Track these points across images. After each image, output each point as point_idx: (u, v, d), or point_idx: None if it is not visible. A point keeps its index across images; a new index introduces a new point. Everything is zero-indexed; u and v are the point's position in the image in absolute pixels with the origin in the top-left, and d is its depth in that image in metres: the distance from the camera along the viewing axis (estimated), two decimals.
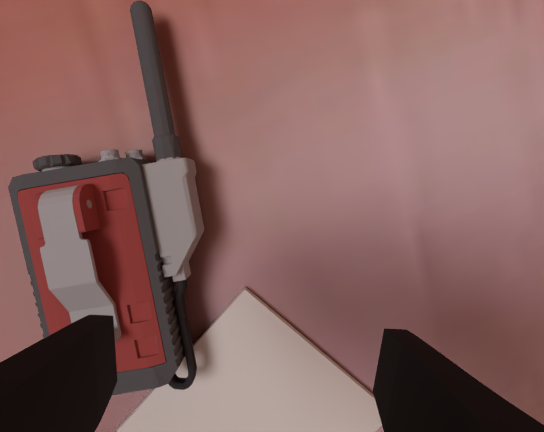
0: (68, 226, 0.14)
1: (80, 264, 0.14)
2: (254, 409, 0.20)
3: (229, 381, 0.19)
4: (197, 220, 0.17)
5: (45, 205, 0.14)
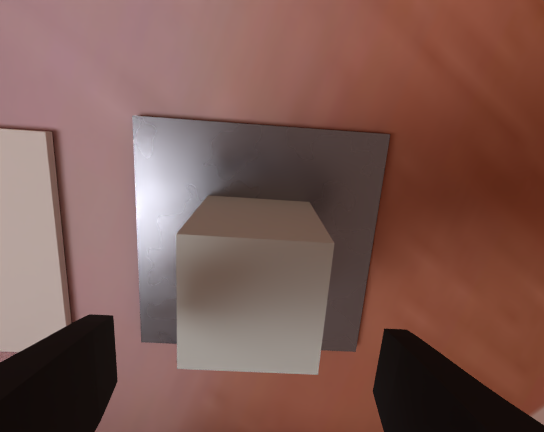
0: None
1: None
2: None
3: None
4: None
5: None
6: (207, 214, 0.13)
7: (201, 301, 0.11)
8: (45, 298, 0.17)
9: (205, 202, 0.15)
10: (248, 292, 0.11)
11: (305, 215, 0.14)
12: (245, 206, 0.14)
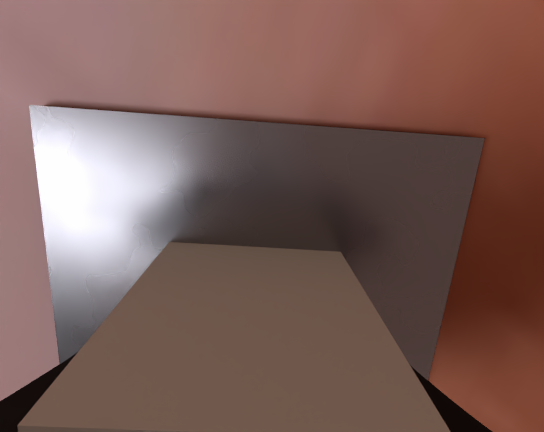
0: None
1: None
2: None
3: None
4: None
5: None
6: (146, 307, 0.06)
7: None
8: None
9: (157, 263, 0.08)
10: None
11: (344, 298, 0.07)
12: (230, 272, 0.08)
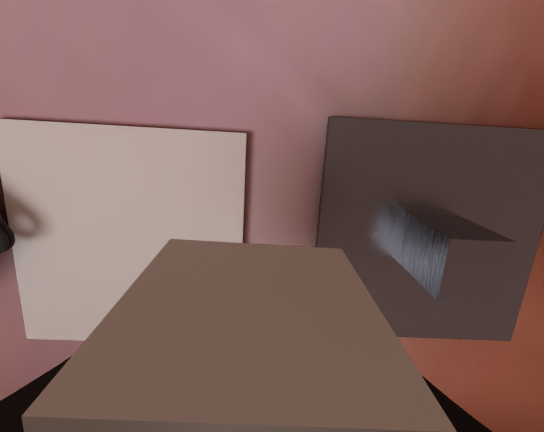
0: None
1: None
2: (114, 229, 0.17)
3: (67, 220, 0.17)
4: None
5: None
6: (148, 302, 0.06)
7: None
8: None
9: (158, 259, 0.08)
10: None
11: (345, 294, 0.07)
12: (231, 268, 0.08)
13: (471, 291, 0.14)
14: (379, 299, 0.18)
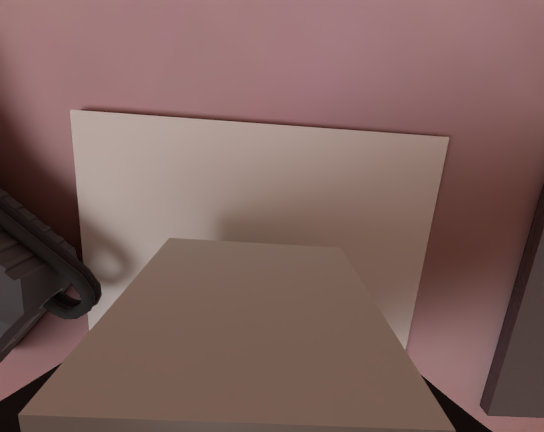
0: None
1: None
2: None
3: None
4: None
5: None
6: (146, 301, 0.06)
7: None
8: None
9: (157, 258, 0.08)
10: None
11: (344, 293, 0.07)
12: (230, 267, 0.08)
13: None
14: None
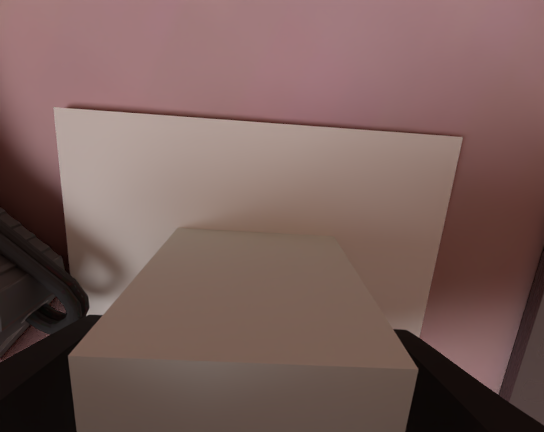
0: None
1: None
2: None
3: None
4: None
5: None
6: (162, 277, 0.07)
7: None
8: None
9: (168, 244, 0.09)
10: None
11: (335, 272, 0.08)
12: (233, 251, 0.09)
13: None
14: None
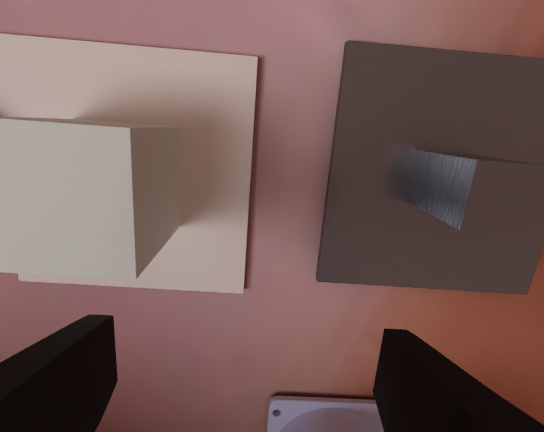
0: None
1: None
2: None
3: None
4: None
5: None
6: (34, 118, 0.12)
7: None
8: (229, 234, 0.17)
9: (55, 118, 0.14)
10: (46, 184, 0.10)
11: (148, 126, 0.13)
12: (95, 121, 0.14)
13: (497, 220, 0.13)
14: (392, 245, 0.17)
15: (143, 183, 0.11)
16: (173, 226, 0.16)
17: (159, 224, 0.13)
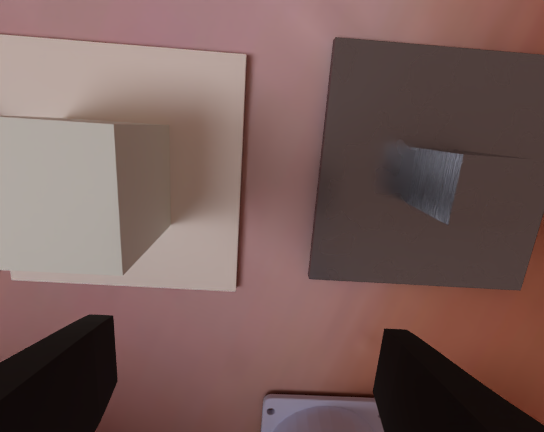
0: None
1: None
2: None
3: None
4: None
5: None
6: (21, 116, 0.12)
7: None
8: (220, 232, 0.17)
9: (44, 117, 0.14)
10: (31, 181, 0.10)
11: None
12: None
13: (485, 215, 0.13)
14: (384, 242, 0.17)
15: (129, 180, 0.11)
16: (163, 224, 0.16)
17: (147, 221, 0.13)
